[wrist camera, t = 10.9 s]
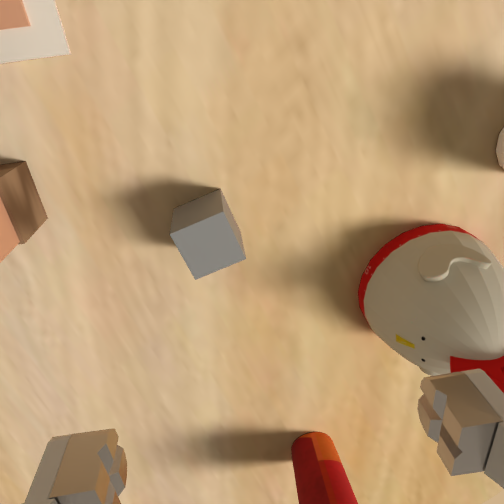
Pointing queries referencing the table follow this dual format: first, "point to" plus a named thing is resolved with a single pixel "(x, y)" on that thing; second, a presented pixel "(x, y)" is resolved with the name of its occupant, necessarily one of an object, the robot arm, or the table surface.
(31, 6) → the tile
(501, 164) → the white cup
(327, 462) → the paper cup
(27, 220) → the walnut block
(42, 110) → the table surface
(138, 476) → the table surface
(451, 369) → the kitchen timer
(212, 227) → the grey block
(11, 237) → the salmon orange block
